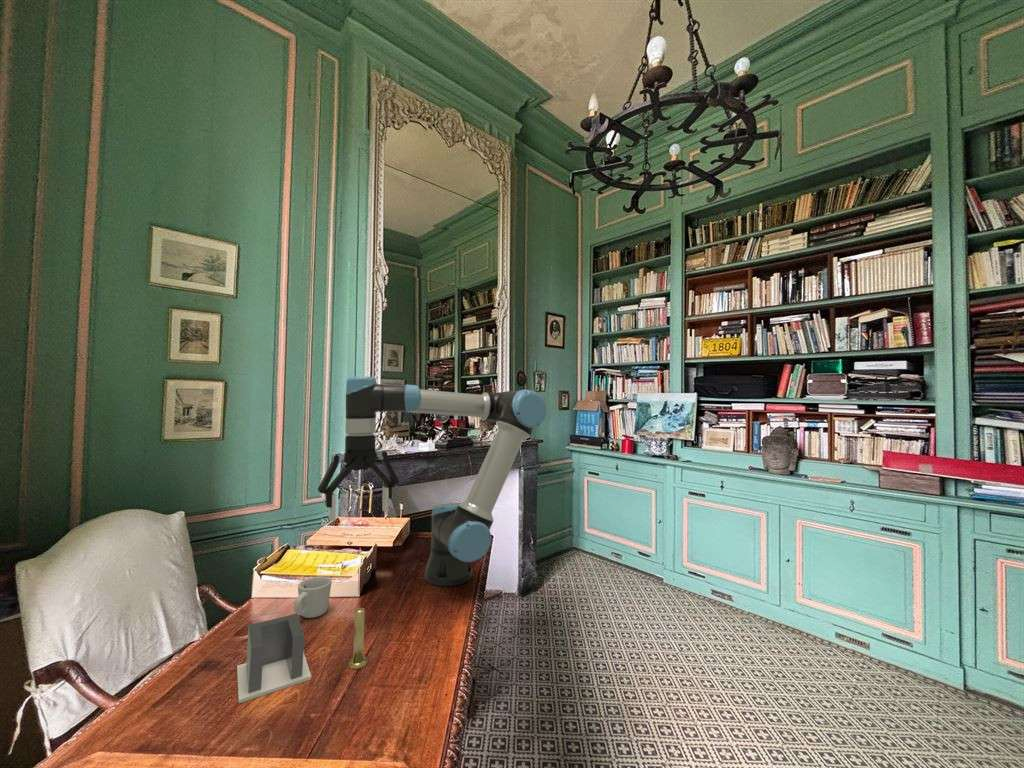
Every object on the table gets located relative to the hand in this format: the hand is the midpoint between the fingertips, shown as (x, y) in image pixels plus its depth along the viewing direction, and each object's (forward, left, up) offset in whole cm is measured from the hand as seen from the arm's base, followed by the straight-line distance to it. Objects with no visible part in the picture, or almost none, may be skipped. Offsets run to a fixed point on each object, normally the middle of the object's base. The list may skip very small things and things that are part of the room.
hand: (359, 515), depth 108 cm
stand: (+5, +21, -26) cm, 33 cm away
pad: (+20, +15, -26) cm, 36 cm away
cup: (+10, -6, -26) cm, 28 cm away
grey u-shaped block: (+20, +15, -25) cm, 35 cm away
